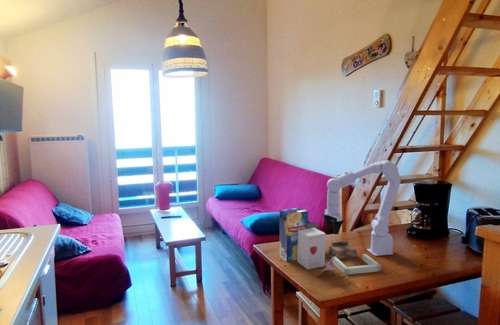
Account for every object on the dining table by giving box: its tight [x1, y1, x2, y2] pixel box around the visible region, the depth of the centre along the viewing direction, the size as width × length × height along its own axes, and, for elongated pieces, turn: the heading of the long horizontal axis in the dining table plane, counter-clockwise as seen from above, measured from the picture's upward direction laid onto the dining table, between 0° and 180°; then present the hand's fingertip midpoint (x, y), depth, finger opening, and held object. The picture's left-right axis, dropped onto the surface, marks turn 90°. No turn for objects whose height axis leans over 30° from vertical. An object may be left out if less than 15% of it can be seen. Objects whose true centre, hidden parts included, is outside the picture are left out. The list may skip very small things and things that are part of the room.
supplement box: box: [296, 228, 327, 270], centre depth 160 cm, size 9×9×15 cm
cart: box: [327, 240, 358, 260], centre depth 171 cm, size 11×7×6 cm, turn 101°
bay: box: [333, 253, 382, 276], centre depth 158 cm, size 16×12×2 cm
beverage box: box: [278, 207, 309, 263], centre depth 168 cm, size 7×11×22 cm, turn 115°
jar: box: [308, 222, 320, 230], centre depth 177 cm, size 9×8×12 cm
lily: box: [315, 255, 339, 279], centre depth 149 cm, size 12×12×10 cm
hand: (332, 231), depth 175 cm, fingers open, 7 cm apart
